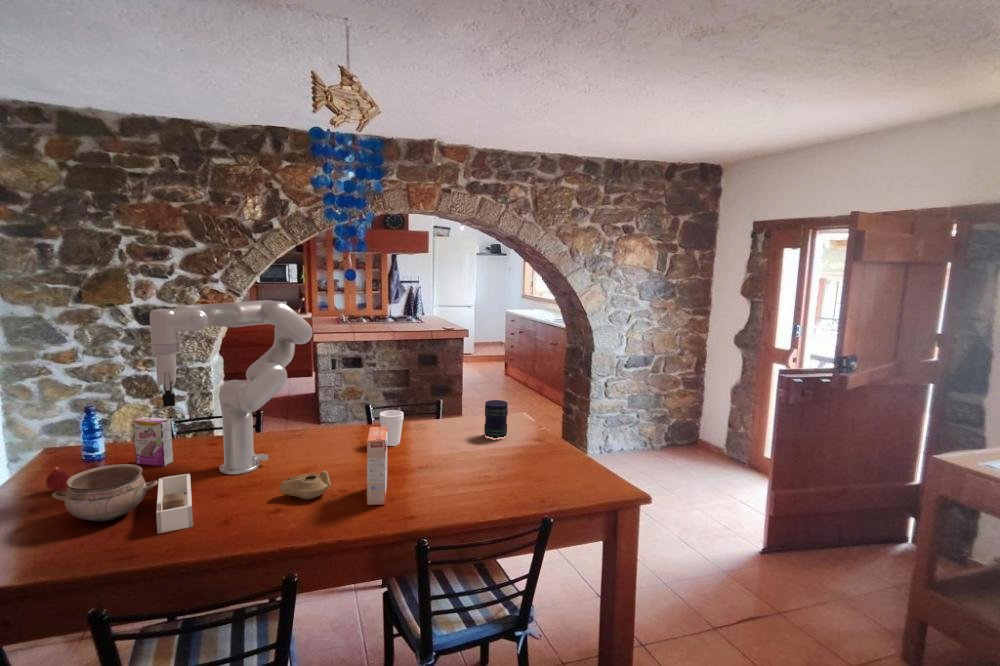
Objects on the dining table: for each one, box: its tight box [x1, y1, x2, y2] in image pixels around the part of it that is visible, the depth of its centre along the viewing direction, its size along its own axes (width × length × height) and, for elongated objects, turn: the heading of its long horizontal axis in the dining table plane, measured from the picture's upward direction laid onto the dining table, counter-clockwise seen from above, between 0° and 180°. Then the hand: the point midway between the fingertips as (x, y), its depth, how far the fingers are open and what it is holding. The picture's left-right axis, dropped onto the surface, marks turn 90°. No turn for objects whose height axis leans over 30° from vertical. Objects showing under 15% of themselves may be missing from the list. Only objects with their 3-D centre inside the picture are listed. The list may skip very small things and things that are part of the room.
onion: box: [45, 466, 71, 492], centre depth 171 cm, size 6×6×8 cm
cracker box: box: [366, 426, 388, 506], centre depth 173 cm, size 14×6×21 cm, turn 9°
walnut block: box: [162, 492, 184, 510], centre depth 152 cm, size 5×5×5 cm
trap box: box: [155, 473, 194, 534], centre depth 160 cm, size 8×26×6 cm, turn 30°
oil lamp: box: [279, 470, 332, 500], centre depth 172 cm, size 11×15×8 cm
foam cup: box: [379, 409, 404, 447], centre depth 221 cm, size 10×9×13 cm
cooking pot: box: [51, 463, 159, 523], centre depth 155 cm, size 25×19×12 cm
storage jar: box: [484, 399, 509, 438], centre depth 234 cm, size 10×10×15 cm
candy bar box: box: [132, 416, 174, 467], centre depth 195 cm, size 11×5×16 cm, turn 84°
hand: (169, 405), depth 173 cm, fingers closed
